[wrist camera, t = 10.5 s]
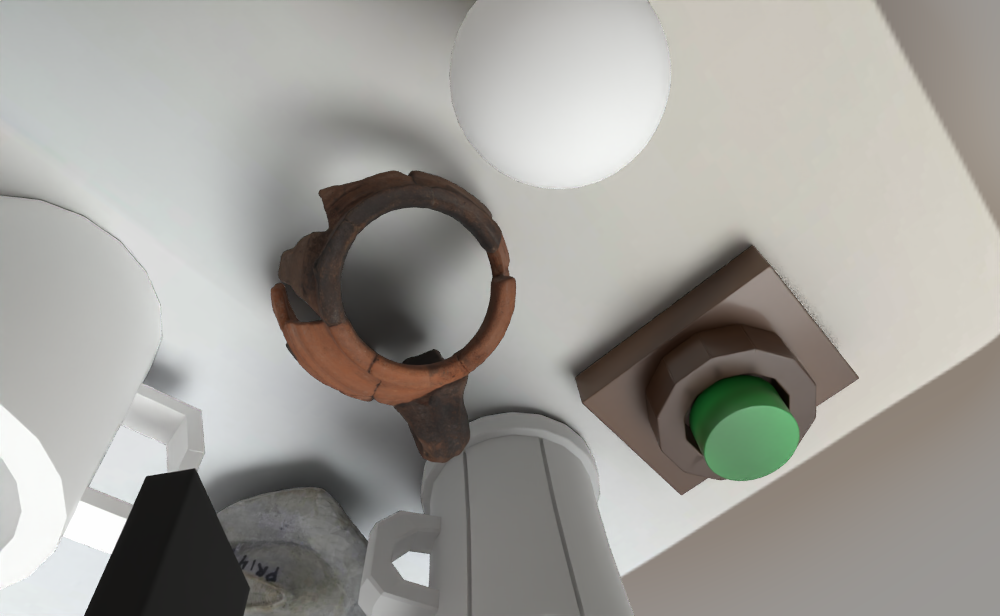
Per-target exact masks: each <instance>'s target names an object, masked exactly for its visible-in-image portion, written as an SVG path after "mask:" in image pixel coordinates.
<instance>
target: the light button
mask: <svg viewBox="0 0 1000 616" xmlns="http://www.w3.org/2000/svg"><path fill="white" fill-rule="evenodd" d="M689 424H690V428H691V431H692V433H693V436H694V438H695V440H696V442H697V444H698V446H699V448H700V451H701V453H702V455H703V457H704V459H705V461H706V463H707V465H708V467H709V468H710V469H711V470H712V471H713V472H714V473H715V474H717V475H719V476H720V477H723V478H725V479H729V480H735V481H747V480H754V479H757V478H761V477H764V476H766V475H768V474H770V473H772V472H774V471H776V470H777V469H779V468H780V467H781V466H783V465H784V464H785V463H786V462H787V461H788V460H789V459H790V457H791V456H792V455H793V453H794V452H795V450H796V448H797V445H798V442H799V435H800V434H799V427H798V424H797V422H796V420H795V418H794V417H793V415H792V414H791V412H790V411H789V409H788V408H787V406H786V404H785V403H784V401H783V400H782V398H781V397H780V395H779V394H778V392H777V391H776V389H775V388H774V387H773V386H772V385H771V384H770V383H769V382H767V381H766V380H764V379H762V378H759V377H756V376H751V375H737V376H732V377H728V378H725V379H722V380H719V381H717V382H715V383H714V384H713V385H711V386H710V387H708V388H707V389H705V390H704V391H703V392H702V393H701V394H700V395H699V396H698V397H697V399H696V400H695V402H694V404H693V406H692V408H691V411H690V416H689Z"/></svg>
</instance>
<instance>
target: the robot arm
mask: <svg viewBox="0 0 1000 616" xmlns="http://www.w3.org/2000/svg"><path fill="white" fill-rule="evenodd" d="M249 591H250V587H249V584H248V582H247V580H246V578H245V576H244V574H243V571H242V569H241V567H240V565H239V563H238V560H237V558H236V556H235V554H234V552H233V550H232V547H231V545H230V543H229V541H228V539H227V536H226V534H225V532H224V530H223V528H222V525H221V523H220V521H219V519H218V517H217V515H216V512H215V510H214V508H213V506H212V504H211V501H210V499H209V497H208V495H207V493H206V491H205V488H204V486H203V484H202V482H201V480H200V477H199V475H198V473H197V471H196V469H195V468H193V469H187V470H181V471H175V472H170V473H164V474H158V475H152V476H146V478H145V480H144V483H143V485H142V487H141V489H140V492H139V494H138V496H137V498H136V500H135V503H134V505H133V507H132V509H131V512H130V514H129V516H128V518H127V521H126V523H125V525H124V527H123V530H122V532H121V534H120V536H119V539H118V541H117V543H116V545H115V548H114V550H113V552H112V554H111V557H110V559H109V561H108V563H107V566H106V568H105V570H104V572H103V574H102V577H101V579H100V581H99V583H98V586H97V588H96V590H95V592H94V595H93V597H92V599H91V601H90V604H89V606H88V608H87V610H86V613H85V615H84V616H244V612H245V608H246V604H247V599H248V595H249Z"/></svg>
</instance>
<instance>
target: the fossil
mask: <svg viewBox="0 0 1000 616" xmlns="http://www.w3.org/2000/svg"><path fill="white" fill-rule="evenodd" d="M216 515H217V517H218V519H219V521H220V523H221V525H222V528H223V530H224V532H225V534H226V536H227V539H228V541H229V543H230V545H231V547H232V550H233V552H234V554H235V556H236V558H237V560H238V563H239V565H240V567H241V569H242V571H243V574H244V576H245V578H246V580H247V582H248V584H249V587H250V591H249V595H248V599H247V604H246V608H245V612H244V616H366V614H365V613H364V611H363V610H362V609H361V607H360V606H359V605H358V600H359V593H360V586H361V581H362V575H363V569H364V563H365V558H366V552H367V546H368V541H367V540H366V538H365V537H364V536H363V535H362V534H361V532H360V531H359V530H358V528H357V526H356V525H354V524H353V523H352V521H351V520H350V519H349V517H348V516H347V515H346V514H345V512H344V510H343V509H342V508H341V506H340V505H339V504H338V503H337V501H336V500H335V499H334V498H333V497H332V496H331V495H330V494H329V493H328V492H327V491H326V490H324V489H321V488H315V487H299V488H291V489H285V490H281V491H276V492H268V493H264V494H260V495H257V496H254V497H251V498H248V499H243V500H240V501H238V502H236V503H234V504H232V505H230V506H228V507H226V508H225V509H223V510H221V511H220V512H219V513H217V514H216Z"/></svg>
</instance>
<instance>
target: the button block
mask: <svg viewBox="0 0 1000 616" xmlns="http://www.w3.org/2000/svg"><path fill="white" fill-rule="evenodd" d="M737 375H751V376H756V377H759V378H762V379H764V380H766V381H767V382H769V383H770V384H771V385H772V386H773V387H774V388H775V389H776V391H777V392H778V394H779V395H780V397H781V398H782V400H783V401H784V403H785V404H786V406H787V408H788V409H789V411H790V412H791V414H792V415H793V417H794V418H795V420H796V422H797V424H798V427H799V434H800V435H799V442H798V444H799V443H800V441H801V440H802V438H803V437H804V435H805V434H806V432H807V431H808V429H809V427H810V426H811V424H812V423H813V421H814V420H815V418H816V406H818V405H819V404H821V403H822V402H824V401H825V400H827V399H829V398H830V397H832V396H833V395H835V394H836V393H838V392H839V391H841V390H842V389H844V388H845V387H847V386H848V385H850V384H851V383H853V382H854V381H856V380H857V379H859V377H858V376H857V374H856V373H855V372H854V371H853V369H852V368H851V367H850V365H849V364H848V363H847V362H846V360H845V359H844V358H843V357H842V355H841V354H840V353H839V352H838V350H837V349H836V348H835V346H834V345H833V344H832V343H831V341H830V340H829V339H828V338H827V336H826V335H825V334H824V333H823V331H822V330H821V329H820V328H819V326H818V325H817V324H816V322H815V321H814V320H813V319H812V317H811V316H810V315H809V314H808V312H807V311H806V310H805V309H804V307H803V306H802V305H801V303H800V302H799V301H798V300H797V298H796V297H795V296H794V295H793V293H792V292H791V291H790V290H789V288H788V287H787V286H786V284H785V283H784V282H783V281H782V279H781V278H780V277H779V276H778V274H777V273H776V272H775V271H774V269H773V268H772V267H771V266H770V264H769V263H768V262H767V261H766V260H765V258H764V257H763V256H762V255H761V254H760V252H759V251H758V250H757V249H756V248H755V246H753V245H752V246H751V247H750V248H748V249H747V250H745V251H744V252H743V253H741V254H740V255H739V256H737V257H736V258H735V259H733V260H732V261H731V262H729V263H728V264H727V265H725V266H724V267H723V268H721V269H720V270H719V271H717V272H716V273H715V274H713V275H712V276H711V277H709V278H708V279H707V280H705V281H704V282H702V283H701V284H700V285H698V286H697V287H696V288H694V289H693V290H692V291H690V292H689V293H688V294H686V295H685V296H684V297H682V298H681V299H680V300H678V301H677V302H676V303H674V304H673V305H672V306H670V307H669V308H668V309H666V310H665V311H664V312H662V313H661V314H660V315H658V316H657V317H655V318H654V319H653V320H651V321H650V322H649V323H647V324H646V325H645V326H643V327H642V328H641V329H639V330H638V331H637V332H635V333H634V334H633V335H631V336H630V337H629V338H627V339H626V340H625V341H623V342H622V343H621V344H619V345H618V346H617V347H615V348H614V349H612V350H611V351H610V352H608V353H607V354H606V355H604V356H603V357H602V358H600V359H599V360H598V361H596V362H595V363H594V364H592V365H591V366H590V367H588V368H587V369H586V370H584V371H583V372H582V373H580V374H579V375H578V376H576V377H575V380H576V383H577V387H578V390H579V394H580V397H581V400H582V403H583V404H584V405H585V406H586V407H587V408H588V409H589V410H590V411H591V412H592V413H594V414H595V415H596V416H597V417H598V418H599V419H600V420H601V421H602V422H603V423H604V424H605V425H606V426H607V427H609V428H610V429H611V430H612V431H613V432H614V433H615V434H616V435H617V436H618V437H619V438H620V439H621V440H622V441H624V442H625V443H626V444H627V445H628V446H629V447H630V448H631V449H632V450H633V451H634V452H635V453H636V454H637V455H639V456H640V457H641V458H642V459H643V460H644V461H645V462H646V463H647V464H648V465H649V466H650V467H651V468H652V469H654V470H655V471H656V472H657V473H658V474H659V475H660V476H661V477H662V478H663V479H664V480H665V481H666V482H667V483H669V484H670V485H671V486H672V487H673V488H674V489H675V490H676V491H677V492H678V493H679V494H680V495H683V494H684V493H686V492H687V491H689V490H691V489H692V488H694V487H695V486H697V485H698V484H700V483H701V482H703V481H704V480H706V479H707V478H712V479H717V480H725V478H723V477H720V476H719V475H717V474H715V473H714V472H713V471H712V470H711V469H710V468H709V467H708V465H707V463H706V461H705V459H704V457H703V455H702V453H701V451H700V448H699V446H698V444H697V442H696V440H695V438H694V436H693V433H692V431H691V428H690V424H689V416H690V411H691V408H692V406H693V404H694V402H695V400H696V399H697V397H698V396H699V395H700V394H701V393H702V392H703V391H704V390H705V389H707V388H708V387H710V386H711V385H713V384H714V383H715V382H717V381H719V380H722V379H725V378H728V377H732V376H737ZM797 446H798V445H797Z"/></svg>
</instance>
